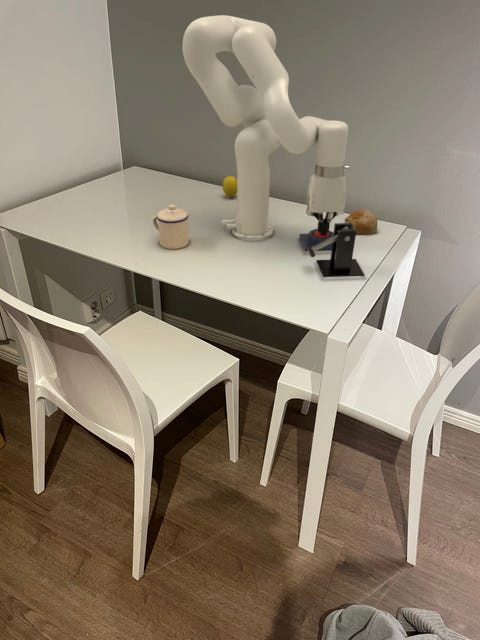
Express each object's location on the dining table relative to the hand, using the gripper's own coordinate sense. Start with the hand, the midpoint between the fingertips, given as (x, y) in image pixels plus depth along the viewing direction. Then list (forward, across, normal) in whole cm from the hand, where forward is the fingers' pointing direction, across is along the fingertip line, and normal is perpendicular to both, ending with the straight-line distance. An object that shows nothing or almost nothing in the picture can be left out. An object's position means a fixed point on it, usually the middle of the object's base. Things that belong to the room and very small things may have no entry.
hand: (322, 233), depth 143 cm
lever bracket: (+4, -2, +15) cm, 16 cm away
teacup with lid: (+4, +44, -6) cm, 45 cm away
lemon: (+4, +24, -41) cm, 48 cm away
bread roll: (+4, -15, -11) cm, 19 cm away
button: (+2, 0, 0) cm, 2 cm away
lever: (-4, +1, +15) cm, 15 cm away
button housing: (+4, 0, 0) cm, 4 cm away
